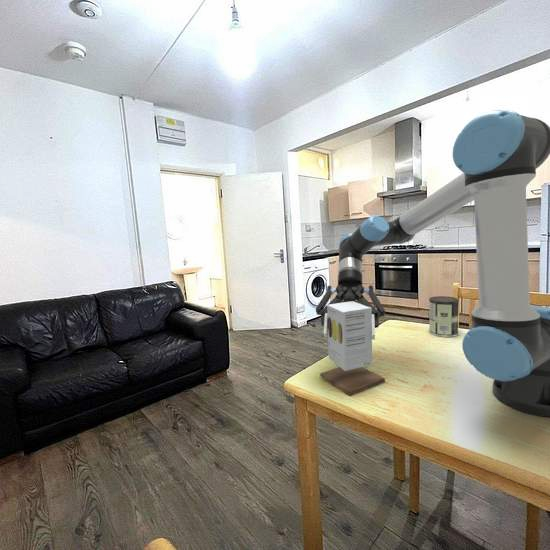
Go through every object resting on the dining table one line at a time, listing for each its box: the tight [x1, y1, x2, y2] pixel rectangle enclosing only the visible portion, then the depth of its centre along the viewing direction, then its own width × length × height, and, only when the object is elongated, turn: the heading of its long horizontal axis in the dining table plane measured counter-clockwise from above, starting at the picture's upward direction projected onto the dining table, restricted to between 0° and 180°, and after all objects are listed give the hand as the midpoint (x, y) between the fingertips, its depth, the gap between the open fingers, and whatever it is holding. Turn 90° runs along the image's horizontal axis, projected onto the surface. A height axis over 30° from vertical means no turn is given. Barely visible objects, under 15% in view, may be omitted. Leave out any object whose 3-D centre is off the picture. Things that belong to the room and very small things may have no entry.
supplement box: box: [326, 301, 373, 371], centre depth 86 cm, size 10×9×17 cm
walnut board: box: [320, 366, 386, 397], centre depth 88 cm, size 13×13×1 cm
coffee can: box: [428, 295, 460, 338], centre depth 120 cm, size 10×10×14 cm
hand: (348, 336), depth 84 cm, fingers closed on supplement box, 12 cm apart
